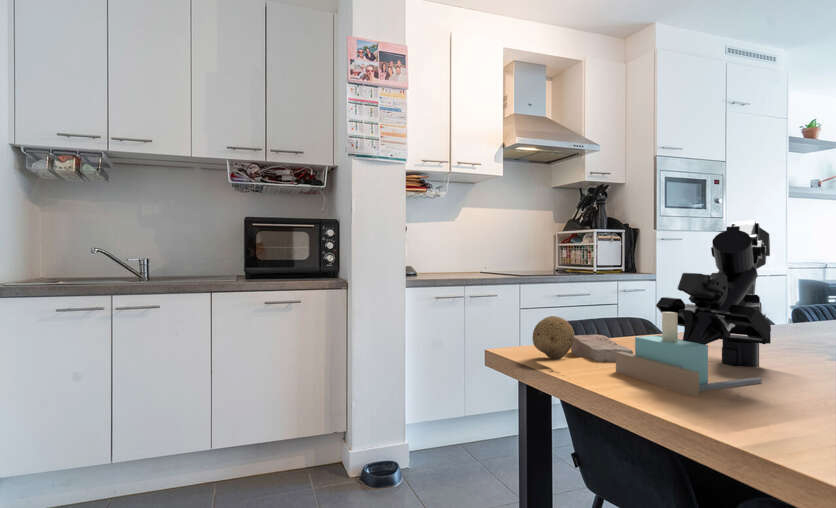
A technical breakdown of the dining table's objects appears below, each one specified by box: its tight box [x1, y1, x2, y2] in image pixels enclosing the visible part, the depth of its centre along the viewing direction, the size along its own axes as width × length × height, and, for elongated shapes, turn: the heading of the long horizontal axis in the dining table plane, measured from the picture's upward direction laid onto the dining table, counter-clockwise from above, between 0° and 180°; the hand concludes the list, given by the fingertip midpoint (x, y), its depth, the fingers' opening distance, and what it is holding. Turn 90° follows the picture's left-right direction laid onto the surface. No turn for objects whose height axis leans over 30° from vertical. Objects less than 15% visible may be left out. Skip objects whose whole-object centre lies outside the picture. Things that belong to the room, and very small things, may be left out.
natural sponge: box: [532, 315, 575, 361], centre depth 101 cm, size 9×9×10 cm
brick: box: [570, 334, 634, 363], centre depth 101 cm, size 17×8×5 cm, turn 0°
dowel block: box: [634, 312, 709, 384], centre depth 79 cm, size 6×10×12 cm, turn 19°
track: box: [615, 352, 763, 398], centre depth 81 cm, size 19×16×5 cm
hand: (684, 350), depth 80 cm, fingers closed
